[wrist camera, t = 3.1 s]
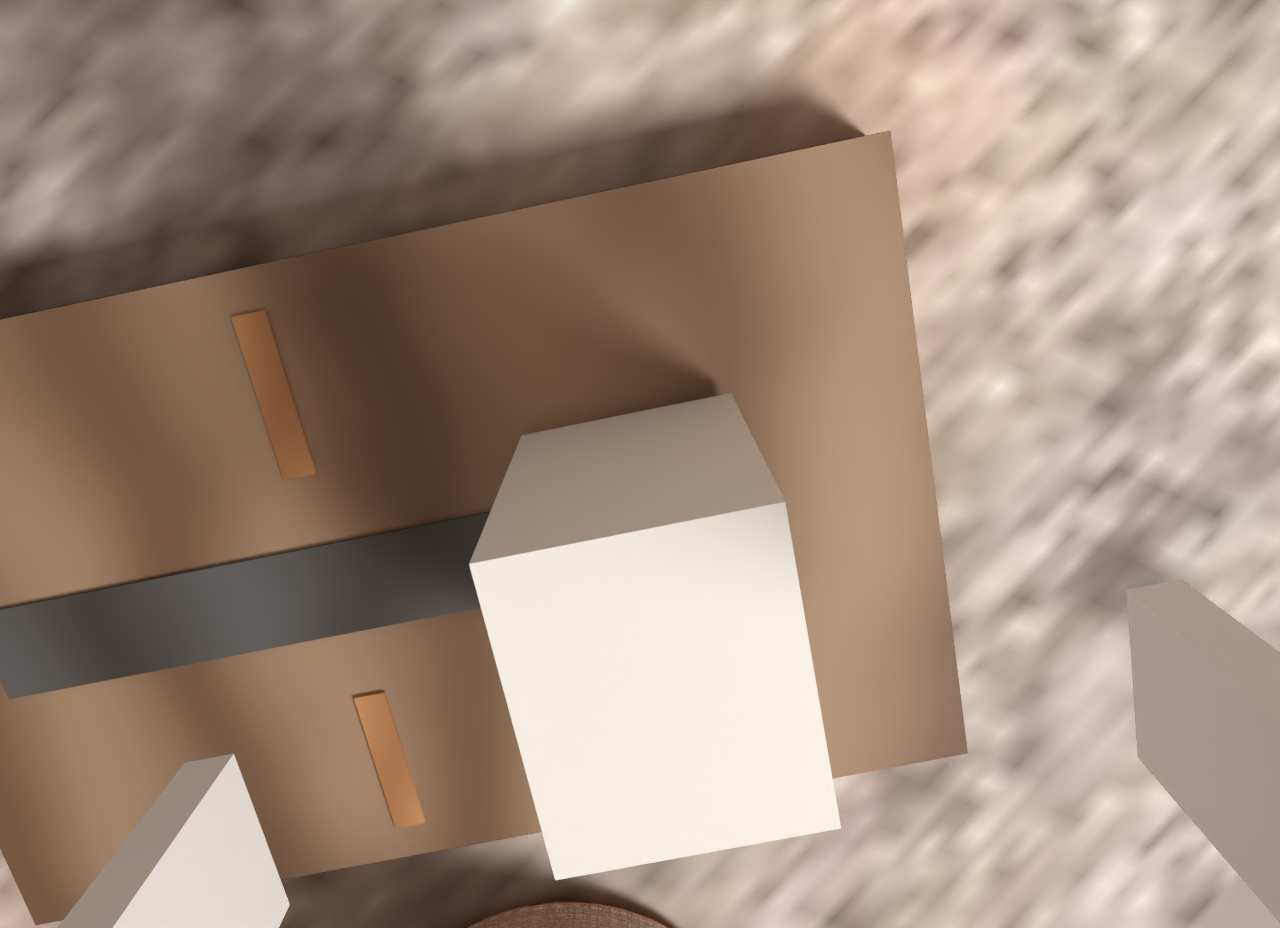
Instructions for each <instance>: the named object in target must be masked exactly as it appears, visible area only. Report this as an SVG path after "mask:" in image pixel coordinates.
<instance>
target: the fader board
mask: <svg viewBox="0 0 1280 928" xmlns="http://www.w3.org/2000/svg"><path fill="white" fill-rule="evenodd" d="M728 393H731V394H732V396H733V398H734V400H735V402H736V404H737V406H738V408H739V410H740V412H741V414H742V416H743V418H744V420H745V422H746V424H747V426H748V428H749V430H750V432H751V434H752V436H753V438H754V440H755V442H756V444H757V446H758V448H759V450H760V452H761V454H762V456H763V458H764V460H765V462H766V464H767V466H768V468H769V470H770V472H771V474H772V476H773V478H774V480H775V482H776V484H777V486H778V488H779V490H780V492H781V494H782V496H783V498H784V500H785V503H786V509H787V514H788V520H789V526H790V532H791V538H792V544H793V550H794V556H795V561H796V567H797V573H798V579H799V585H800V591H801V597H802V602H803V608H804V614H805V620H806V626H807V632H808V638H809V644H810V649H811V655H812V661H813V667H814V673H815V679H816V685H817V690H818V696H819V702H820V708H821V714H822V720H823V726H824V732H825V737H826V743H827V749H828V755H829V761H830V767H831V773H832V778H836V777H842V776H847V775H853V774H858V773H864V772H869V771H874V770H880V769H885V768H891V767H896V766H902V765H907V764H912V763H918V762H923V761H929V760H934V759H940V758H945V757H950V756H956V755H961V754H967V753H968V752H967V743H966V735H965V727H964V719H963V711H962V703H961V695H960V687H959V679H958V671H957V663H956V655H955V647H954V639H953V631H952V623H951V615H950V607H949V599H948V591H947V582H946V574H945V566H944V558H943V550H942V542H941V534H940V526H939V518H938V510H937V502H936V494H935V486H934V478H933V470H932V462H931V454H930V446H929V438H928V430H927V421H926V413H925V405H924V397H923V389H922V381H921V373H920V365H919V357H918V349H917V341H916V333H915V325H914V317H913V309H912V301H911V293H910V285H909V277H908V269H907V260H906V252H905V244H904V236H903V228H902V220H901V212H900V204H899V196H898V188H897V180H896V172H895V164H894V156H893V148H892V140H891V132H890V131H887V132H882V133H877V134H871V135H866V136H861V137H857V138H852V139H847V140H843V141H838V142H833V143H828V144H824V145H819V146H814V147H810V148H805V149H800V150H796V151H791V152H786V153H781V154H777V155H772V156H767V157H763V158H758V159H753V160H748V161H744V162H739V163H734V164H730V165H725V166H720V167H715V168H711V169H706V170H701V171H697V172H692V173H687V174H682V175H678V176H673V177H668V178H664V179H659V180H654V181H649V182H645V183H640V184H635V185H631V186H626V187H621V188H616V189H612V190H607V191H602V192H598V193H593V194H588V195H583V196H579V197H574V198H569V199H565V200H560V201H555V202H551V203H546V204H541V205H536V206H532V207H527V208H522V209H518V210H513V211H508V212H503V213H499V214H494V215H489V216H485V217H480V218H475V219H470V220H466V221H461V222H456V223H452V224H447V225H442V226H437V227H433V228H428V229H423V230H419V231H414V232H409V233H404V234H400V235H395V236H390V237H386V238H381V239H376V240H371V241H367V242H362V243H357V244H353V245H348V246H343V247H339V248H334V249H329V250H324V251H320V252H315V253H310V254H306V255H301V256H296V257H291V258H287V259H282V260H277V261H273V262H268V263H263V264H258V265H254V266H249V267H244V268H240V269H235V270H230V271H225V272H221V273H216V274H211V275H207V276H202V277H197V278H192V279H188V280H183V281H178V282H174V283H169V284H164V285H159V286H155V287H150V288H145V289H141V290H136V291H131V292H126V293H122V294H117V295H112V296H108V297H103V298H98V299H94V300H89V301H84V302H79V303H75V304H70V305H65V306H61V307H56V308H51V309H46V310H42V311H37V312H32V313H28V314H23V315H18V316H13V317H9V318H4V319H0V849H1V851H2V853H3V855H4V857H5V859H6V862H7V864H8V866H9V868H10V870H11V873H12V875H13V877H14V879H15V881H16V883H17V886H18V888H19V890H20V892H21V894H22V896H23V899H24V901H25V903H26V905H27V907H28V910H29V912H30V914H31V916H32V918H33V920H34V923H35V925H39V924H45V923H50V922H55V921H61V920H64V919H65V917H66V916H67V915H68V913H69V912H70V911H71V910H72V908H73V907H74V906H75V904H76V903H77V902H78V900H79V899H80V898H81V897H82V895H83V894H84V893H85V891H86V890H87V889H88V887H89V886H90V885H91V884H92V882H93V881H94V880H95V878H96V877H97V876H98V874H99V873H100V872H101V871H102V869H103V868H104V867H105V865H106V864H107V863H108V861H109V860H110V859H111V858H112V856H113V855H114V854H115V852H116V851H117V850H118V848H119V847H120V846H121V845H122V843H123V842H124V841H125V839H126V838H127V837H128V835H129V834H130V833H131V832H132V830H133V829H134V828H135V826H136V825H137V824H138V822H139V821H140V820H141V819H142V817H143V816H144V815H145V813H146V812H147V811H148V809H149V808H150V807H151V806H152V804H153V803H154V802H155V800H156V799H157V798H158V796H159V795H160V794H161V793H162V791H163V790H164V789H165V787H166V786H167V785H168V783H169V782H170V781H171V780H172V778H173V777H174V776H175V774H176V773H177V772H178V770H179V769H180V768H181V767H182V765H183V764H184V763H186V762H191V761H197V760H202V759H207V758H213V757H218V756H224V755H229V754H234V756H235V758H236V761H237V764H238V766H239V769H240V772H241V774H242V777H243V780H244V782H245V785H246V788H247V791H248V793H249V796H250V799H251V801H252V804H253V807H254V809H255V812H256V815H257V818H258V820H259V823H260V826H261V828H262V831H263V834H264V836H265V839H266V842H267V845H268V847H269V850H270V853H271V855H272V858H273V861H274V863H275V866H276V869H277V872H278V874H279V877H280V880H283V879H289V878H294V877H300V876H305V875H310V874H316V873H321V872H327V871H332V870H338V869H343V868H348V867H354V866H359V865H365V864H370V863H375V862H381V861H386V860H392V859H397V858H403V857H408V856H413V855H419V854H424V853H430V852H435V851H441V850H446V849H451V848H457V847H462V846H468V845H473V844H479V843H484V842H489V841H495V840H500V839H506V838H511V837H516V836H522V835H527V834H533V833H538V832H542V830H541V827H540V823H539V819H538V816H537V812H536V808H535V805H534V801H533V797H532V794H531V790H530V786H529V783H528V779H527V775H526V772H525V768H524V764H523V761H522V757H521V753H520V750H519V746H518V742H517V738H516V735H515V731H514V727H513V724H512V720H511V716H510V713H509V709H508V705H507V702H506V698H505V694H504V691H503V687H502V683H501V680H500V676H499V672H498V669H497V665H496V661H495V658H494V654H493V650H492V647H491V643H490V639H489V636H488V632H487V628H486V625H485V621H484V617H483V614H482V610H481V606H480V603H479V599H478V595H477V592H476V588H475V584H474V581H473V577H472V573H471V570H470V566H469V563H470V560H471V558H472V555H473V553H474V551H475V548H476V546H477V543H478V541H479V538H480V536H481V533H482V531H483V528H484V526H485V524H486V521H487V519H488V516H489V514H490V511H491V509H492V506H493V504H494V502H495V499H496V497H497V494H498V492H499V489H500V487H501V484H502V482H503V480H504V477H505V475H506V472H507V470H508V467H509V465H510V462H511V460H512V458H513V455H514V453H515V450H516V448H517V445H518V443H519V440H520V438H521V436H522V435H526V434H531V433H535V432H540V431H545V430H550V429H555V428H560V427H565V426H570V425H575V424H580V423H585V422H590V421H595V420H600V419H605V418H610V417H615V416H620V415H625V414H629V413H634V412H639V411H644V410H649V409H654V408H659V407H664V406H669V405H674V404H679V403H684V402H689V401H694V400H699V399H704V398H709V397H714V396H719V395H723V394H728Z"/></svg>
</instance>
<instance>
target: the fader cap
mask: <svg viewBox="0 0 1280 928" xmlns="http://www.w3.org/2000/svg"><path fill="white" fill-rule="evenodd" d="M469 566H470V570H471V573H472V577H473V581H474V584H475V588H476V592H477V595H478V599H479V603H480V606H481V610H482V614H483V617H484V621H485V625H486V628H487V632H488V636H489V639H490V643H491V647H492V650H493V654H494V658H495V661H496V665H497V669H498V672H499V676H500V680H501V683H502V687H503V691H504V694H505V698H506V702H507V705H508V709H509V713H510V716H511V720H512V724H513V727H514V731H515V735H516V738H517V742H518V746H519V750H520V753H521V757H522V761H523V764H524V768H525V772H526V775H527V779H528V783H529V786H530V790H531V794H532V797H533V801H534V805H535V808H536V812H537V816H538V819H539V823H540V827H541V830H542V834H543V838H544V841H545V845H546V849H547V852H548V856H549V860H550V863H551V867H552V871H553V874H554V878H555V880H560V879H566V878H571V877H577V876H582V875H588V874H593V873H599V872H604V871H610V870H615V869H620V868H626V867H631V866H637V865H642V864H648V863H653V862H659V861H664V860H670V859H675V858H681V857H686V856H692V855H697V854H703V853H708V852H714V851H719V850H725V849H730V848H736V847H741V846H747V845H752V844H758V843H763V842H769V841H774V840H780V839H785V838H791V837H796V836H802V835H807V834H813V833H818V832H824V831H829V830H835V829H840V828H841V825H840V820H839V814H838V808H837V802H836V796H835V790H834V784H833V778H832V773H831V767H830V761H829V755H828V749H827V743H826V737H825V732H824V726H823V720H822V714H821V708H820V702H819V696H818V690H817V685H816V679H815V673H814V667H813V661H812V655H811V649H810V644H809V638H808V632H807V626H806V620H805V614H804V608H803V602H802V597H801V591H800V585H799V579H798V573H797V567H796V561H795V556H794V550H793V544H792V538H791V532H790V526H789V520H788V514H787V509H786V503H785V500H784V498H783V496H782V494H781V492H780V490H779V488H778V486H777V484H776V482H775V480H774V478H773V476H772V474H771V472H770V470H769V468H768V466H767V464H766V462H765V460H764V458H763V456H762V454H761V452H760V450H759V448H758V446H757V444H756V442H755V440H754V438H753V436H752V434H751V432H750V430H749V428H748V426H747V424H746V422H745V420H744V418H743V416H742V414H741V412H740V410H739V408H738V406H737V404H736V402H735V400H734V398H733V396H732V394H731V393H728V394H723V395H719V396H714V397H709V398H704V399H699V400H694V401H689V402H684V403H679V404H674V405H669V406H664V407H659V408H654V409H649V410H644V411H639V412H634V413H629V414H625V415H620V416H615V417H610V418H605V419H600V420H595V421H590V422H585V423H580V424H575V425H570V426H565V427H560V428H555V429H550V430H545V431H540V432H535V433H531V434H526V435H522V436H521V438H520V440H519V443H518V445H517V448H516V450H515V453H514V455H513V458H512V460H511V462H510V465H509V467H508V470H507V472H506V475H505V477H504V480H503V482H502V484H501V487H500V489H499V492H498V494H497V497H496V499H495V502H494V504H493V506H492V509H491V511H490V514H489V516H488V519H487V521H486V524H485V526H484V528H483V531H482V533H481V536H480V538H479V541H478V543H477V546H476V548H475V551H474V553H473V555H472V558H471V560H470V563H469Z"/></svg>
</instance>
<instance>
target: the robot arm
mask: <svg viewBox="0 0 1280 928" xmlns="http://www.w3.org/2000/svg"><path fill="white" fill-rule="evenodd" d="M1127 602H1128V617H1129V633H1130V648H1131V663H1132V678H1133V694H1134V709H1135V724H1136V739H1137V755H1138V758H1139V759H1140V760H1141V761H1142V763H1143V764H1144V765H1145V766H1146V767H1147V768H1148V770H1149V771H1150V772H1151V773H1152V774H1153V775H1154V777H1155V778H1156V779H1157V780H1158V781H1159V782H1160V784H1161V785H1162V786H1163V787H1164V788H1165V789H1166V791H1167V792H1168V793H1169V794H1170V795H1171V796H1172V798H1173V799H1174V800H1175V801H1176V802H1177V803H1178V805H1179V806H1180V807H1181V808H1182V809H1183V810H1184V812H1185V813H1186V814H1187V815H1188V816H1189V817H1190V819H1191V820H1192V821H1193V822H1194V823H1195V824H1196V826H1197V827H1198V828H1199V829H1200V830H1201V831H1202V833H1203V834H1204V835H1205V836H1206V837H1207V838H1208V840H1209V841H1210V842H1211V843H1212V844H1213V845H1214V847H1215V848H1216V849H1217V850H1218V851H1219V852H1220V853H1221V855H1222V856H1223V857H1224V858H1225V859H1226V860H1227V862H1228V863H1229V864H1230V865H1231V866H1232V867H1233V869H1234V870H1235V871H1236V872H1237V873H1238V874H1239V876H1240V877H1241V878H1242V879H1243V880H1244V881H1245V882H1246V884H1247V885H1248V886H1249V887H1250V888H1251V890H1252V891H1253V892H1254V893H1255V894H1256V895H1257V896H1258V898H1259V899H1260V900H1261V901H1262V902H1263V904H1264V905H1265V906H1266V907H1267V908H1268V909H1269V911H1270V912H1271V913H1272V914H1273V915H1274V916H1275V918H1276V919H1277V920H1278V921H1279V922H1280V652H1278V651H1277V650H1276V649H1274V648H1273V647H1272V646H1270V645H1269V644H1268V643H1266V642H1265V641H1264V640H1262V639H1261V638H1260V637H1258V636H1257V635H1256V634H1254V633H1253V632H1252V631H1250V630H1249V629H1248V628H1246V627H1245V626H1243V625H1242V624H1241V623H1239V622H1238V621H1237V620H1235V619H1234V618H1233V617H1231V616H1230V615H1229V614H1227V613H1226V612H1225V611H1223V610H1222V609H1221V608H1219V607H1218V606H1217V605H1215V604H1214V603H1213V602H1211V601H1210V600H1209V599H1207V598H1206V597H1205V596H1203V595H1202V594H1201V593H1199V592H1198V591H1196V590H1195V589H1194V588H1192V587H1191V586H1190V585H1188V584H1187V583H1186V582H1184V581H1183V580H1176V581H1171V582H1165V583H1160V584H1154V585H1149V586H1143V587H1138V588H1133V589H1127ZM289 905H290V904H289V901H288V898H287V896H286V893H285V890H284V888H283V885H282V882H281V880H280V877H279V874H278V872H277V869H276V866H275V863H274V861H273V858H272V855H271V853H270V850H269V847H268V845H267V842H266V839H265V836H264V834H263V831H262V828H261V826H260V823H259V820H258V818H257V815H256V812H255V809H254V807H253V804H252V801H251V799H250V796H249V793H248V791H247V788H246V785H245V782H244V780H243V777H242V774H241V772H240V769H239V766H238V764H237V761H236V758H235V756H234V754H229V755H224V756H218V757H213V758H207V759H202V760H197V761H191V762H186V763H184V764H183V765H182V767H181V768H180V769H179V770H178V772H177V773H176V774H175V776H174V777H173V778H172V780H171V781H170V782H169V783H168V785H167V786H166V787H165V789H164V790H163V791H162V793H161V794H160V795H159V796H158V798H157V799H156V800H155V802H154V803H153V804H152V806H151V807H150V808H149V809H148V811H147V812H146V813H145V815H144V816H143V817H142V819H141V820H140V821H139V822H138V824H137V825H136V826H135V828H134V829H133V830H132V832H131V833H130V834H129V835H128V837H127V838H126V839H125V841H124V842H123V843H122V845H121V846H120V847H119V848H118V850H117V851H116V852H115V854H114V855H113V856H112V858H111V859H110V860H109V861H108V863H107V864H106V865H105V867H104V868H103V869H102V871H101V872H100V873H99V874H98V876H97V877H96V878H95V880H94V881H93V882H92V884H91V885H90V886H89V887H88V889H87V890H86V891H85V893H84V894H83V895H82V897H81V898H80V899H79V900H78V902H77V903H76V904H75V906H74V907H73V908H72V910H71V911H70V912H69V913H68V915H67V916H66V917H65V919H64V920H63V921H62V923H61V924H60V925H59V926H58V928H279V927H280V924H281V922H282V920H283V918H284V916H285V914H286V912H287V910H288V908H289Z"/></svg>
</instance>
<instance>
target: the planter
mask: <svg viewBox="0 0 1280 928" xmlns="http://www.w3.org/2000/svg"><path fill="white" fill-rule="evenodd" d="M467 928H668V927H666V926H664V925H662V924H660V923H658V922H656V921H654V920H652V919H650V918H647V917H645V916H642V915H640V914H637V913H634V912H631V911H628V910H625V909H621V908H617V907H613V906H608V905H602V904H595V903H586V902H570V901H568V902H549V903H539V904H533V905H526V906H522V907H517V908H513V909H510V910H506V911H503V912H500V913H497V914H495V915H492V916H490V917H487V918H485V919H483V920H480V921H478V922H476V923H474V924H472V925H470V926H469V927H467Z"/></svg>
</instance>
